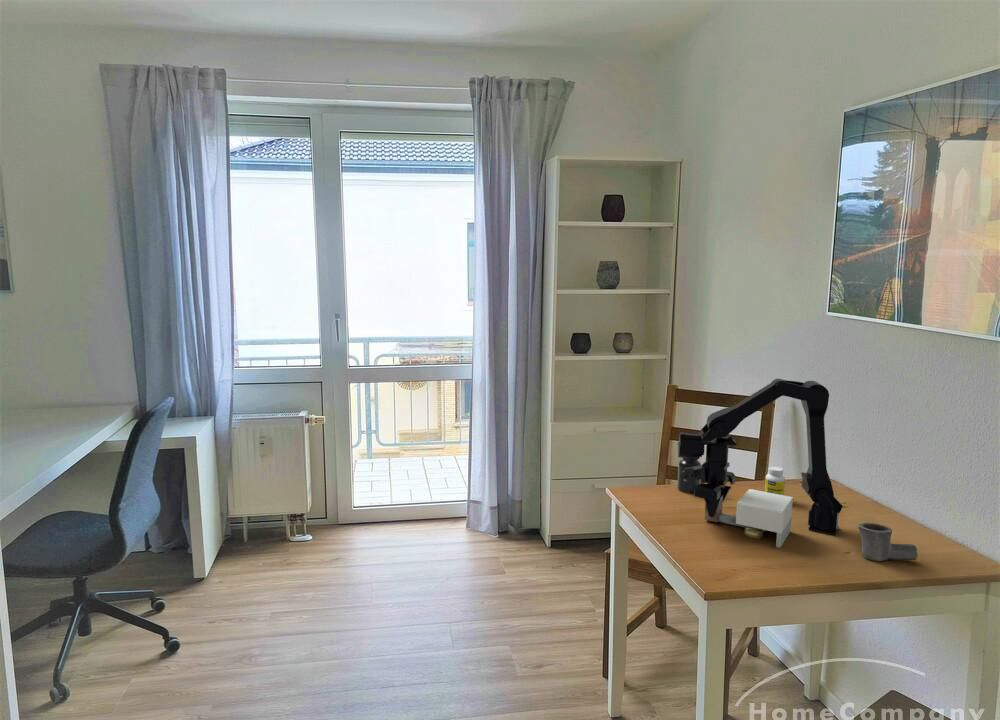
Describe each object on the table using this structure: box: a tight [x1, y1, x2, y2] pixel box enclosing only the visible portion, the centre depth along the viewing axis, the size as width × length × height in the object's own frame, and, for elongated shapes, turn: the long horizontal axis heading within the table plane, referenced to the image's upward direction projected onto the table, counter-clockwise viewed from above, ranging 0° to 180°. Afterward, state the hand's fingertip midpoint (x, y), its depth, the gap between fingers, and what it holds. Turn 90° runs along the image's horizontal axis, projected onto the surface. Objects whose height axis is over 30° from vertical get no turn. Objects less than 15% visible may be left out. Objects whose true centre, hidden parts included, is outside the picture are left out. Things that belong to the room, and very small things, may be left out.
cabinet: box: [735, 488, 794, 549], centre depth 172 cm, size 11×13×10 cm
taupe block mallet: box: [704, 497, 766, 533], centre depth 178 cm, size 16×4×6 cm, turn 56°
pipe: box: [857, 522, 918, 562], centre depth 158 cm, size 6×13×8 cm, turn 78°
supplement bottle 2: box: [764, 466, 786, 496], centre depth 198 cm, size 5×5×10 cm
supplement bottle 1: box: [677, 458, 702, 493], centre depth 206 cm, size 7×7×12 cm
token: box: [744, 526, 764, 539], centre depth 172 cm, size 4×4×2 cm
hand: (713, 514), depth 181 cm, fingers closed on taupe block mallet, 4 cm apart
